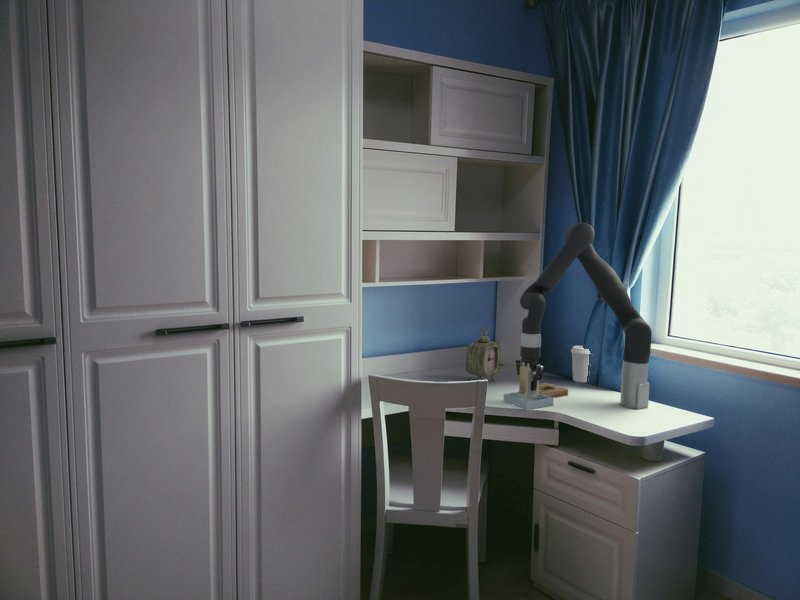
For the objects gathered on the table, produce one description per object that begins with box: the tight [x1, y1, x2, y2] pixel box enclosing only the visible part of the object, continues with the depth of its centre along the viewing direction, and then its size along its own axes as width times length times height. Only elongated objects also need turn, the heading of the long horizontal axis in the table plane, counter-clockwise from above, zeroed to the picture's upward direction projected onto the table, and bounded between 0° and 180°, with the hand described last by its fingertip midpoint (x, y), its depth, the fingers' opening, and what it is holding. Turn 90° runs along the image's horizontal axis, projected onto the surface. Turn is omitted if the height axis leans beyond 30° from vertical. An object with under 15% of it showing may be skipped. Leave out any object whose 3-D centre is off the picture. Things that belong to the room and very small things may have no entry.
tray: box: [502, 391, 554, 411], centre depth 238 cm, size 13×13×3 cm
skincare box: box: [518, 366, 540, 399], centre depth 237 cm, size 6×4×12 cm
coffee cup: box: [570, 345, 591, 383], centre depth 276 cm, size 10×10×15 cm
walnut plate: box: [538, 382, 569, 399], centre depth 253 cm, size 12×14×2 cm
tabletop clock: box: [465, 324, 501, 381], centre depth 269 cm, size 14×9×25 cm, turn 141°
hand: (528, 388), depth 237 cm, fingers closed on skincare box, 4 cm apart
